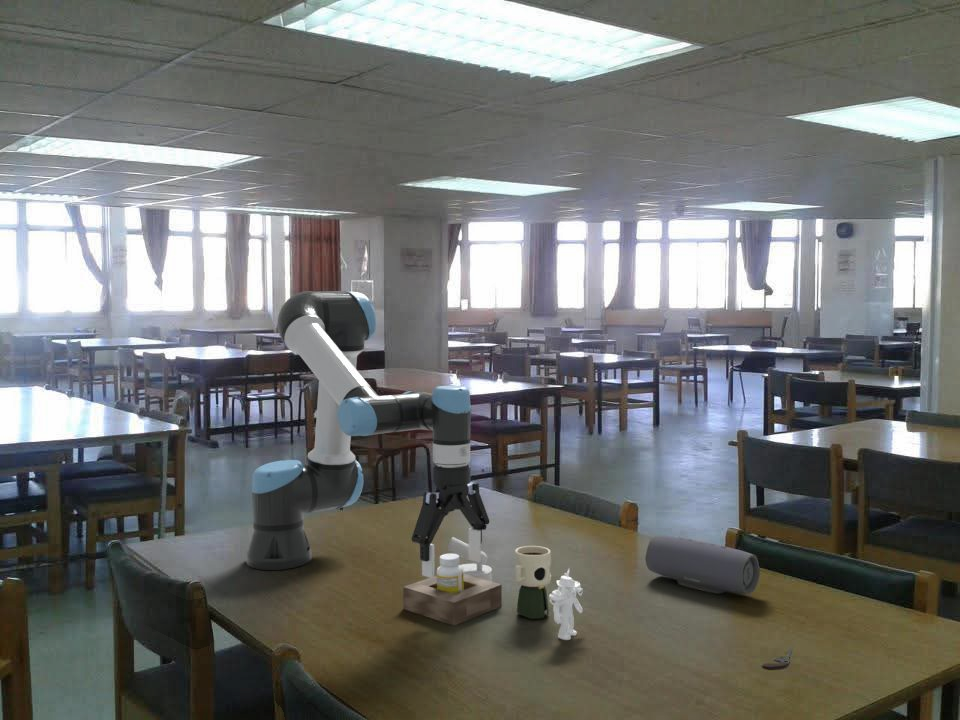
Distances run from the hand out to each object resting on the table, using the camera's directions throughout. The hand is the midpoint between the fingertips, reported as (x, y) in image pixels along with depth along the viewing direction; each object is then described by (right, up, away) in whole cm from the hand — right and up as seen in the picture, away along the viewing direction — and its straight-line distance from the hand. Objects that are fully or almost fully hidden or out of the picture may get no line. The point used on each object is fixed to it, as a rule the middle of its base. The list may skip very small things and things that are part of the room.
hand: (452, 568), depth 174 cm
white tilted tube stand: (+3, -7, +18) cm, 19 cm away
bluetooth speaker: (+53, -7, +12) cm, 55 cm away
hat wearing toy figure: (+22, -9, -14) cm, 27 cm away
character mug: (+16, -9, -4) cm, 19 cm away
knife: (+58, -10, -23) cm, 63 cm away
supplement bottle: (0, -7, 0) cm, 7 cm away
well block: (0, -8, 0) cm, 8 cm away
